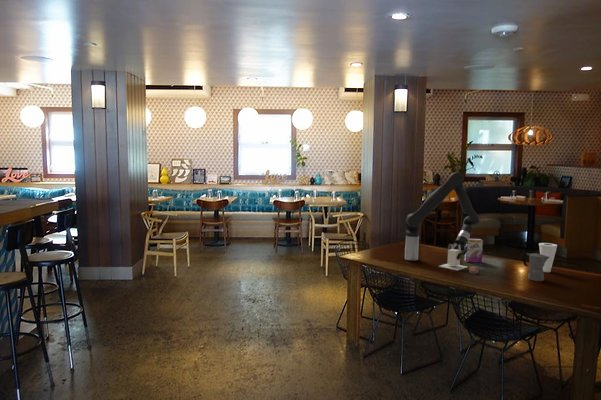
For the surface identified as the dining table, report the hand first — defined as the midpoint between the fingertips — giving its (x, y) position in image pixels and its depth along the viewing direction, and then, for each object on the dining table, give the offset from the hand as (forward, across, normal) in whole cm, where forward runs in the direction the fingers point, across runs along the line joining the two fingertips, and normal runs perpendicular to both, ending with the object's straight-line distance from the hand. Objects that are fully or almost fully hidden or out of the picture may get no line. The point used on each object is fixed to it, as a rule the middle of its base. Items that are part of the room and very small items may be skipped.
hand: (453, 257), depth 304 cm
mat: (+4, 0, +5) cm, 6 cm away
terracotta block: (+7, +17, +2) cm, 18 cm away
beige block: (+3, 0, +4) cm, 5 cm away
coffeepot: (-4, +48, +14) cm, 50 cm away
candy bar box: (-13, +1, +23) cm, 26 cm away
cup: (-22, +46, +32) cm, 60 cm away
